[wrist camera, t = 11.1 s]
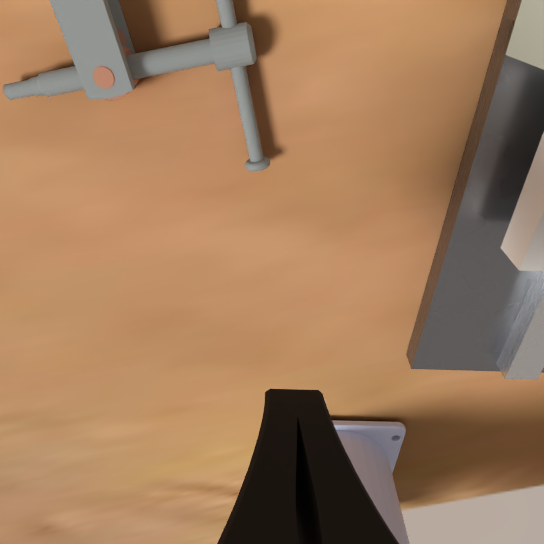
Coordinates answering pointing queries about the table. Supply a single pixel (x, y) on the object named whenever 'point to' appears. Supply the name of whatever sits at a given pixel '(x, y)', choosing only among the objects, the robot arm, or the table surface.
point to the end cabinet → (528, 34)
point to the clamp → (143, 60)
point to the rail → (488, 236)
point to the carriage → (528, 220)
